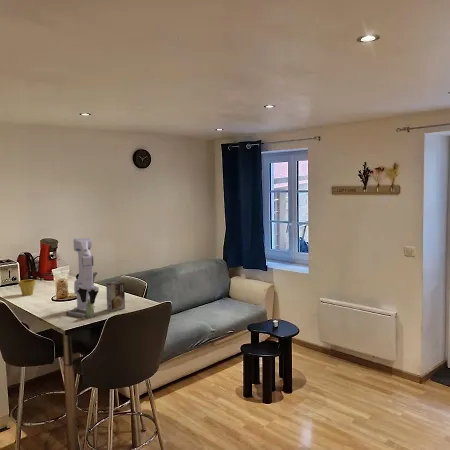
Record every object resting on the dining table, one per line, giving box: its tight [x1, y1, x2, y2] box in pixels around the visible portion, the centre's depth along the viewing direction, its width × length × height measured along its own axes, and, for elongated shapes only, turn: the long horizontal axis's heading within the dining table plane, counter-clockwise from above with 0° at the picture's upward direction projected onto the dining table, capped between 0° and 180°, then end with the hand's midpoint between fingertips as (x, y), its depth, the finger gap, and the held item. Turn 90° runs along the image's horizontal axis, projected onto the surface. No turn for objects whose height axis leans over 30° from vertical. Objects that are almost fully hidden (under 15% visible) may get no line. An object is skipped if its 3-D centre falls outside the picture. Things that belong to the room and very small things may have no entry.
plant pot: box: [18, 279, 36, 297], centre depth 302 cm, size 10×10×10 cm
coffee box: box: [105, 280, 126, 312], centre depth 263 cm, size 9×6×16 cm
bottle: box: [85, 299, 95, 319], centre depth 246 cm, size 4×4×10 cm
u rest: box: [66, 308, 86, 319], centre depth 251 cm, size 8×12×2 cm, turn 60°
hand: (88, 302), depth 237 cm, fingers open, 6 cm apart
